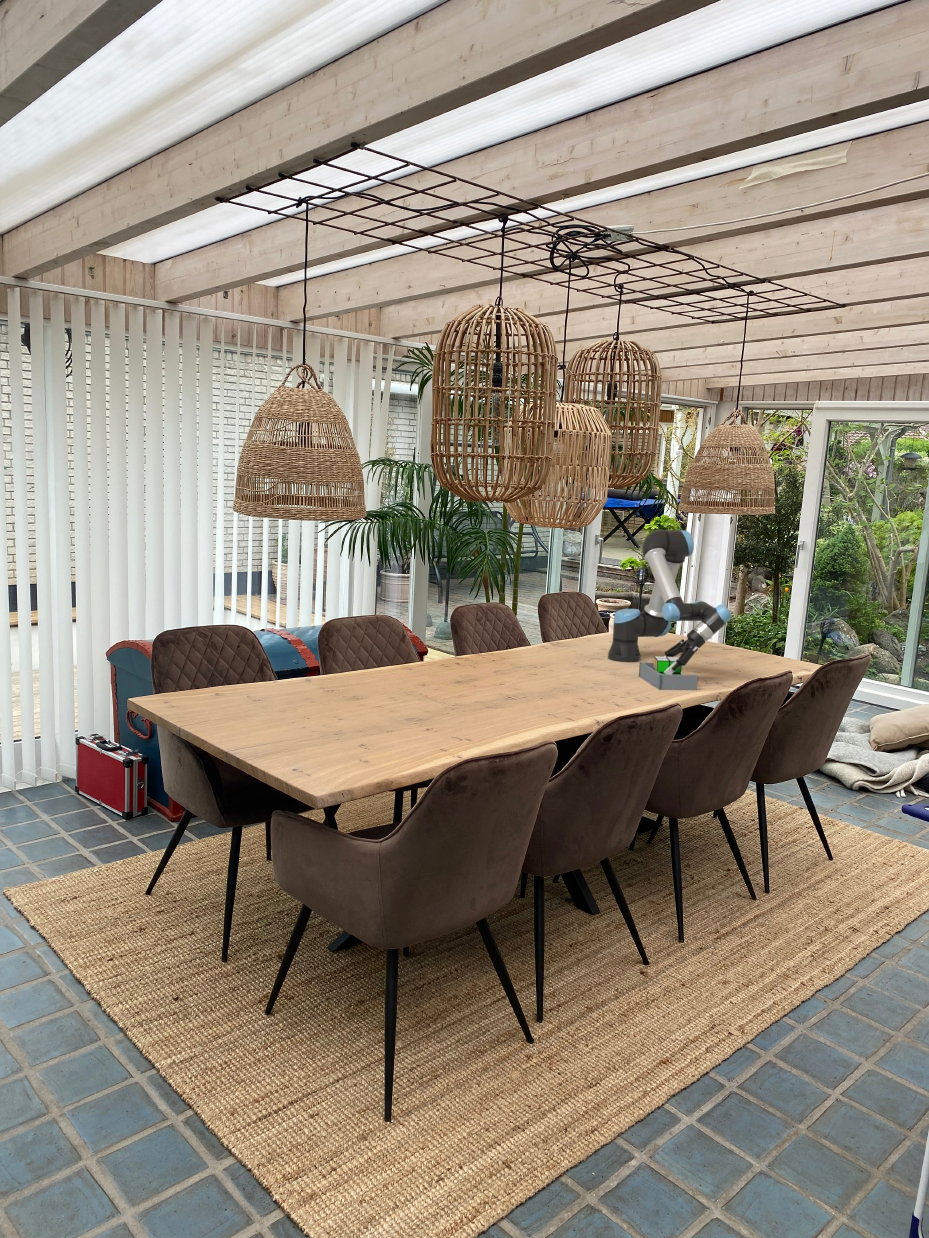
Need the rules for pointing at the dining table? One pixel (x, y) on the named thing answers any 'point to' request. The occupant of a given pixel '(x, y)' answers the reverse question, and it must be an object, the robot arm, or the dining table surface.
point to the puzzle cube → (665, 664)
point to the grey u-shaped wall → (667, 679)
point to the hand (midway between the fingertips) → (660, 671)
